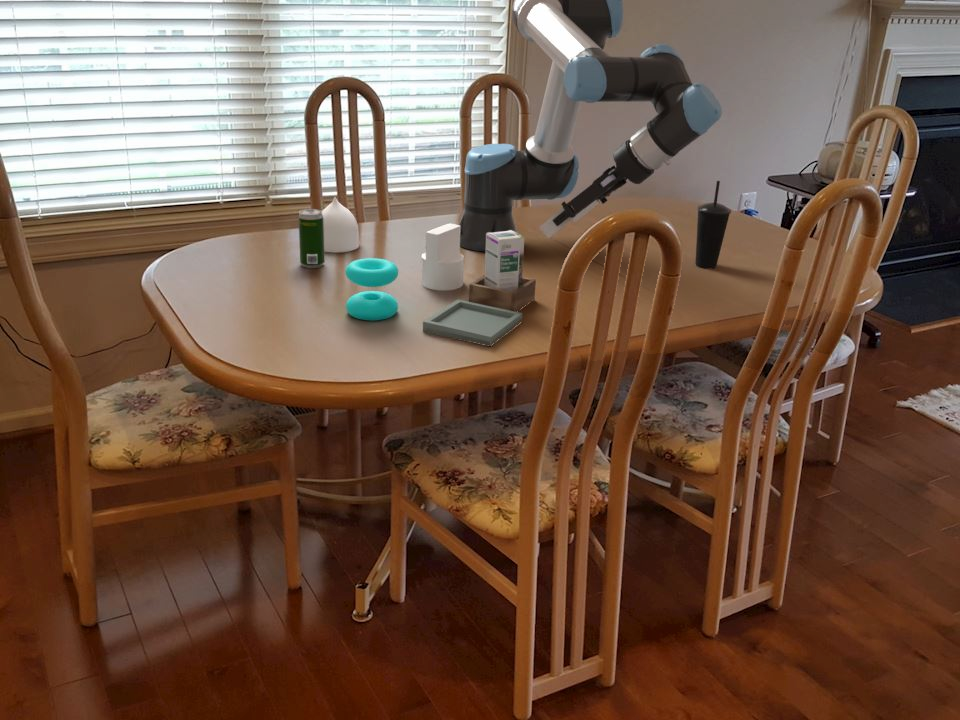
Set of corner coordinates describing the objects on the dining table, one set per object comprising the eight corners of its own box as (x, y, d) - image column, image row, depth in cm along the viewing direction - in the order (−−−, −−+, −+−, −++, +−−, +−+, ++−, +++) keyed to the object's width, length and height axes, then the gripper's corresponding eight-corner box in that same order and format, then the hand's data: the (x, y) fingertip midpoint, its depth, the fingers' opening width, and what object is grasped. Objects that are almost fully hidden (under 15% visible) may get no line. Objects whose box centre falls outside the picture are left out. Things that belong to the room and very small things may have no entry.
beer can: (326, 267, 205) (325, 214, 200) (302, 269, 203) (300, 215, 198) (322, 260, 209) (320, 208, 204) (298, 261, 208) (296, 209, 203)
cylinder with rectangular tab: (447, 293, 193) (449, 237, 188) (412, 284, 197) (413, 229, 192) (471, 282, 200) (473, 228, 195) (436, 273, 204) (437, 220, 199)
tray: (422, 331, 173) (423, 321, 172) (457, 308, 185) (457, 299, 184) (490, 347, 168) (490, 336, 167) (521, 322, 179) (522, 313, 179)
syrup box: (496, 309, 185) (500, 239, 180) (482, 299, 190) (485, 231, 184) (521, 305, 188) (525, 236, 182) (507, 296, 193) (511, 228, 187)
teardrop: (346, 255, 214) (346, 204, 209) (303, 248, 217) (302, 198, 212) (367, 242, 223) (366, 193, 219) (325, 236, 227) (324, 188, 222)
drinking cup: (723, 272, 214) (736, 186, 206) (689, 268, 215) (701, 183, 207) (722, 262, 221) (735, 178, 213) (689, 259, 222) (701, 176, 214)
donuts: (363, 253, 183) (407, 261, 179) (363, 301, 187) (407, 310, 183) (335, 266, 174) (381, 276, 171) (336, 316, 178) (381, 326, 175)
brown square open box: (468, 305, 187) (469, 284, 185) (490, 291, 195) (491, 270, 193) (514, 315, 183) (515, 293, 181) (534, 300, 191) (535, 279, 189)
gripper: (633, 184, 155) (544, 256, 167) (674, 160, 176) (592, 225, 188) (606, 148, 155) (519, 223, 167) (650, 128, 176) (569, 196, 188)
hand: (557, 224), depth 177 cm, fingers open, 13 cm apart
